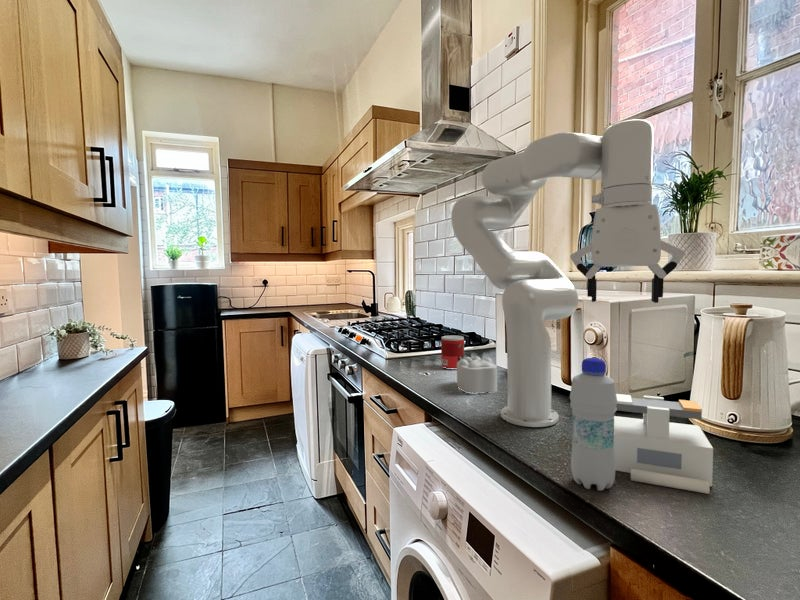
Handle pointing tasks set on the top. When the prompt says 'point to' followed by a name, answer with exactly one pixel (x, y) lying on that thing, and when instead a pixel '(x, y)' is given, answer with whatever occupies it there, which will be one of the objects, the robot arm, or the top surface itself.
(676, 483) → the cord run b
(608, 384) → the bottle
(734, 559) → the top surface
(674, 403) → the lever
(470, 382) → the lumpy-topped squat cylinder
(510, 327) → the robot arm
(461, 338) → the canned food
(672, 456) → the box
